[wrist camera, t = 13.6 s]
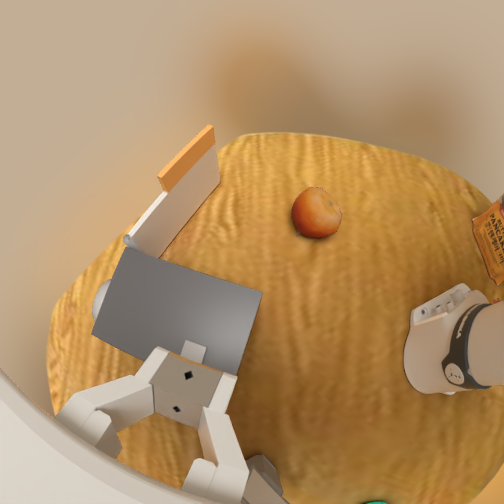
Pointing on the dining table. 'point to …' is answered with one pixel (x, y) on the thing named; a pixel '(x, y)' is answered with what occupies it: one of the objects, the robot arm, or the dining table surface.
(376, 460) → the dining table surface
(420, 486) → the dining table surface
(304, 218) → the fruit
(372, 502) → the turquoise spool
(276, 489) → the camera
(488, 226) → the pancake mix bag
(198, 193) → the side door
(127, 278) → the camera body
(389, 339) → the dining table surface
